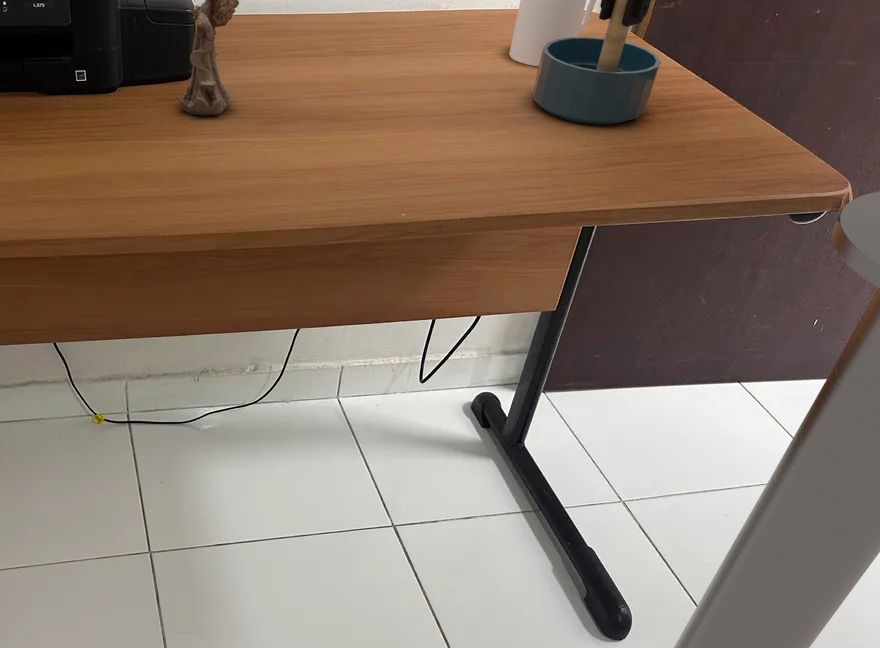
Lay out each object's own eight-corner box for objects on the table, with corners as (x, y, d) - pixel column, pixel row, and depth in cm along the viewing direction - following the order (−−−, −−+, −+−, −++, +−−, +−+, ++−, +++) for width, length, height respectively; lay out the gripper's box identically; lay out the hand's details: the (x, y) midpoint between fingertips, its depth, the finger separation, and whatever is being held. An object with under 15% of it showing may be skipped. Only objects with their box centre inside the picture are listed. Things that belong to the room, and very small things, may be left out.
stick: (611, 101, 104) (650, -34, 95) (593, 102, 104) (631, -34, 95) (602, 95, 106) (640, -39, 96) (585, 95, 106) (621, -39, 96)
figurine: (189, 94, 108) (187, -47, 98) (238, 98, 107) (241, -43, 97) (176, 117, 103) (172, -30, 92) (228, 121, 102) (230, -26, 92)
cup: (604, 57, 122) (627, -25, 115) (538, 70, 117) (558, -15, 110) (561, 40, 127) (581, -40, 120) (496, 52, 122) (513, -31, 116)
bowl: (663, 125, 104) (681, 71, 100) (558, 129, 102) (572, 74, 98) (612, 86, 113) (627, 35, 109) (515, 89, 112) (526, 38, 108)
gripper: (776, -178, 84) (704, 32, 97) (627, -196, 93) (579, -1, 106) (735, -173, 81) (666, 45, 93) (585, -192, 90) (540, 9, 102)
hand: (620, 19), depth 99 cm, fingers closed on stick, 2 cm apart
